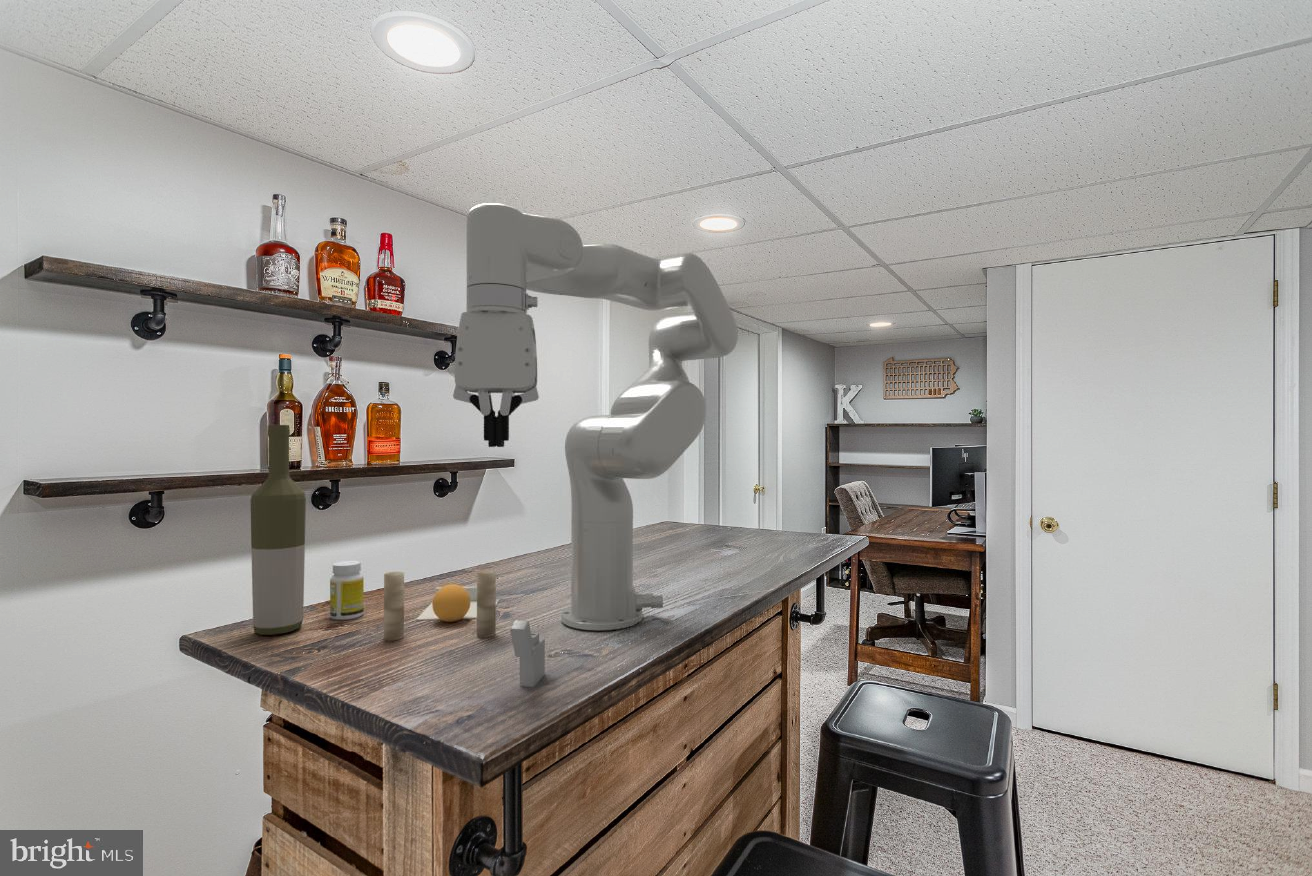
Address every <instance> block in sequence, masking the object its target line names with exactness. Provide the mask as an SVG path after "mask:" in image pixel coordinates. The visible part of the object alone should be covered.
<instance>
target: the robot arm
mask: <svg viewBox="0 0 1312 876" xmlns="http://www.w3.org/2000/svg"><path fill="white" fill-rule="evenodd" d="M527 291H532V292H535V293H540V294H547V295H555V296H556V295H558V296H567V297H577V298H584V299H602V300H606V301H611V302H614V303H619V304H623V305H625V306H629V307H633V308H637V309H641V310H645V311H653V312H654V311H655V312H656V311H664V310H671V309H678V308H684V307H690V308H691V310H692V311H690V312H684V313H677V314H673V315H668V316H665V317H663V318H661V319H659V320H658V321H656V322H655V324H654V325H653V326H652V327H651V329H650V332H649V336H648V341H647V342H648V359H649V360H648V362H649V363H648V368H647V370H645V372H643V374H641V375H640V376H639V377H638V378H637V379H636V380H635V381H633V383H631V384H629V386H627V388H625V389H624V390H623V391H622V392H621V393H620V394H619V395H618V396H617V398H616V399H615V400H614V402H613V404H612V405H611V409H610V413H609V414H604V415H603V414H599V415H591V416H587V417H584V418H581V419H578V420H577V421H576V422H575V423H573V425H572V426H570V429H569V430H568V432H567V433H566V437H565V441H564V453H565V461H566V465H567V466H566V467H567V470H568V477H569V483H570V497H571V518H570V519H571V520H570V521H571V523H570V524H571V525H570V526H571V529H570V530H571V532H570V533H571V542H570V543H571V544H570V546H571V548H570V549H571V550H570V551H571V552H570V554H571V559H570V560H571V566H570V568H571V569H570V570H571V577H570V581H571V582H570V583H571V585H570V588H571V590H570V592H571V593H570V595H571V596H570V598H571V599H570V604H571V605H570V606H568V607H566V608H565V609H563V610H562V611H561V614H560V620H561V622H562V624H564V625H565V626H568V627H570V628H573V629H579V630H584V631H612V630H613V631H614V629H615V630H622V629H625V628H626V627H627V628H630V627H633V626H635V625H634V624H636V625H638V624H639V623H640V622H641V621H642V620H643V615H644V614H643V608H647V609H648V608H650V609H662V608H664V607H663V605H664V598H663V595H662V594H661V595H660V594H657V595H654V593H650V592H649V593H639V592H636V589H635V586H634V575H633V573H634V571H633V570H634V568H633V567H634V565H633V564H634V563H633V562H634V538H633V537H634V506H633V500H632V496H631V493H630V490H629V488H628V486H627V484H626V482H625V480H624V479H630V480H631V479H633V480H646V479H647V480H652V479H655V478H657V477H661V476H662V475H664V474H665V473H666V472H667V471H668V470H669V469H670V468H671V467H672V466H673V465H674V464H675V463H676V461H678V459H679V458H680V457H681V456H682V455H683V454H684V453H685V452H686V451H687V449H688V448H689V447H690V446H691V445H692V443H694V441H695V440H697V437H698V436H699V435H700V433H701V432H702V429H703V428H704V425H705V421H706V417H707V416H706V415H707V404H706V400H705V396H704V394H703V392H702V391H701V390H700V388H699V387H698V386H697V385H696V384H694V383H692V382H690V380H689V377H688V375H687V373H686V371H685V369H684V368H683V362H685V361H686V362H687V361H694V360H695V361H696V360H708V359H709V360H710V359H718V358H723V357H726V356H728V355H729V354H731V353H732V352H733V351H734V350H735V348H736V346H737V343H738V340H739V339H738V338H739V337H738V336H739V335H738V334H739V333H738V332H739V331H738V325H737V322H736V319H735V317H734V314H733V312H732V310H731V307H730V306H729V304H728V302H727V300H726V298H725V296H724V294H723V292H722V290H721V287H720V285H719V284H718V282H717V280H716V278H715V276H714V274H713V273H712V271H711V270H710V268H709V266H707V264H706V263H705V262H704V261H703V260H702V258H701V257H699V256H698V255H696V254H695V253H688V252H687V253H682V254H675V255H672V256H667V257H662V258H653V257H650V256H647V255H645V254H641V253H639V252H637V251H633V250H631V249H630V248H629V249H628V248H626V247H623V246H620V245H618V244H610V243H609V244H608V243H597V244H594V243H593V244H586V245H583V241H582V238H581V236H580V234H579V233H578V231H577V230H576V229H575V227H573V226H572V225H571V224H570V223H568V222H567V221H565V220H562V219H560V218H555V217H550V216H542V215H536V214H531V213H525V212H521V210H519V209H518V208H516V207H514V206H511V205H507V204H502V203H496V202H494V203H493V202H489V203H487V202H486V203H481V204H477V205H475V206H473V207H472V208H471V209H470V210H469V211H468V213H467V217H466V311H463V312H462V313H461V315H460V318H459V323H458V327H457V328H458V329H457V335H456V337H457V338H456V347H455V356H454V383H455V387H454V391H453V395H452V396H453V399H454V400H456V401H460V402H464V403H469V404H472V406H474V407H475V408H476V409H477V410H478V411H479V412H480V414H482V416H483V441H484V442H485V441H487V443H488V445H487V446H488V448H495V447H497V448H504V447H505V442H508V441H509V439H510V416H511V415H512V413H513V412H515V411H516V410H517V409H518V408H519V407H520V406H521V405H523V404H527V403H531V402H535V401H538V400H539V398H540V396H539V391H538V388H537V387H538V385H537V384H538V355H537V340H536V331H535V324H534V320H533V319H534V318H533V317H532V316H531V315H530V314H528V311H529V310H530V309H532V308H538V307H539V305H538V304H539V301H538V296H532V295H529V293H527ZM474 393H477V394H474ZM492 394H502V395H501V400H500V406H499V410H497V415H496V411H495V410H494V407H493V406H494V405H493V400H492ZM638 622H639V623H638ZM637 623H638V624H637ZM629 626H630V627H629ZM621 628H622V629H621ZM627 628H626V629H627Z"/></svg>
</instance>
